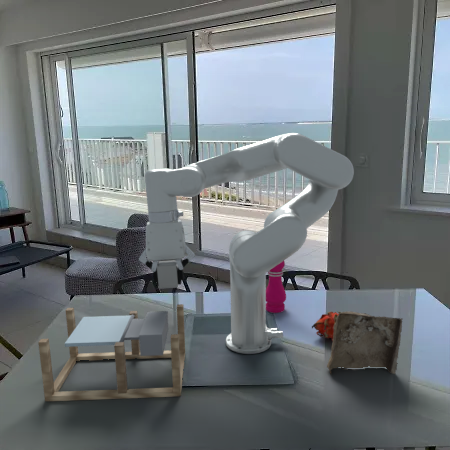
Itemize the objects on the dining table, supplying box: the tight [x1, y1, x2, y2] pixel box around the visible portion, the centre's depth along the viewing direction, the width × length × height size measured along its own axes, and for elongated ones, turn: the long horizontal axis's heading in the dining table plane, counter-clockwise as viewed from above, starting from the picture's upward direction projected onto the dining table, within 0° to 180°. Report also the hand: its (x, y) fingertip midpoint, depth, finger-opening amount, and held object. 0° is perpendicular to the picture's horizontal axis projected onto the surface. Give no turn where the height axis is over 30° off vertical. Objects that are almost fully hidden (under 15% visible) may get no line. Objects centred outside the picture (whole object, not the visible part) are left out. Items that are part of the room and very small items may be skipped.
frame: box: [38, 303, 186, 402], centre depth 99 cm, size 30×19×14 cm, turn 92°
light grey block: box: [157, 260, 179, 290], centre depth 111 cm, size 5×5×6 cm
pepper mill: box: [266, 260, 287, 314], centre depth 136 cm, size 7×7×20 cm
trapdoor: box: [64, 310, 169, 356], centre depth 98 cm, size 21×15×5 cm
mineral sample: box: [326, 310, 404, 375], centre depth 99 cm, size 17×4×15 cm, turn 88°
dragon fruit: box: [311, 311, 342, 343], centre depth 117 cm, size 8×8×12 cm
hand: (169, 282), depth 111 cm, fingers closed on light grey block, 5 cm apart
